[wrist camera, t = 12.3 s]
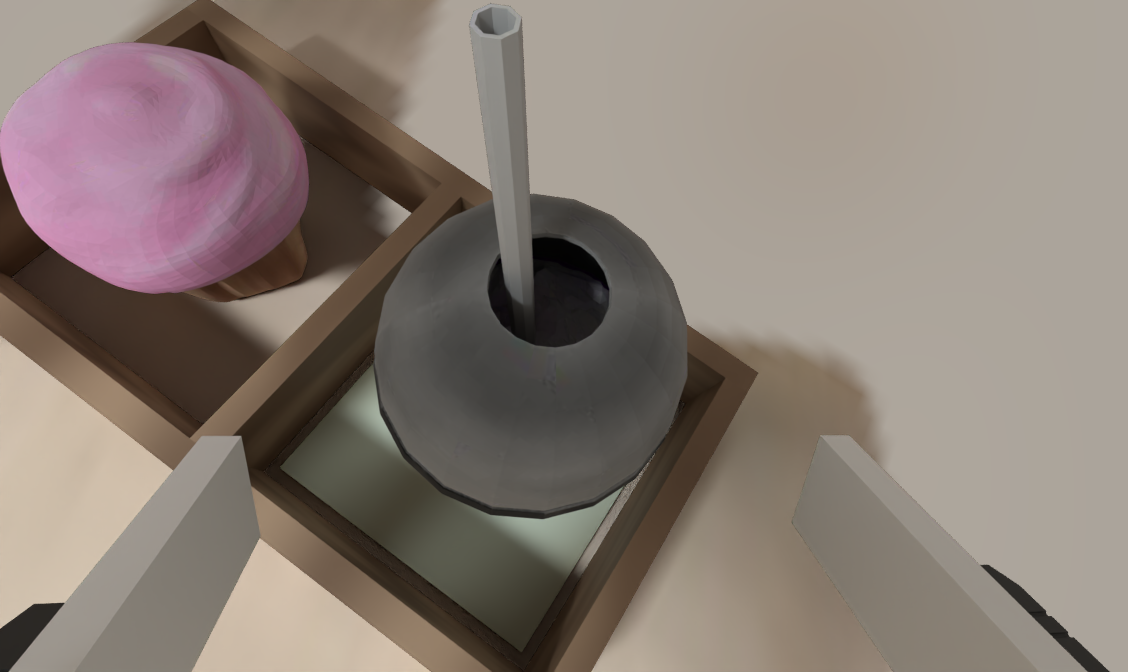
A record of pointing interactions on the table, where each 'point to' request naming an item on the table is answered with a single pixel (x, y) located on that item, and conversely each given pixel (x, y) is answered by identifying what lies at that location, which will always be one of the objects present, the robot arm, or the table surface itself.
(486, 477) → the beverage cup
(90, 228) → the cupcake
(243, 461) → the robot arm
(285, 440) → the tray
